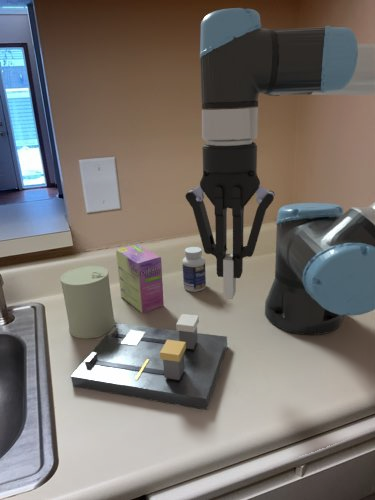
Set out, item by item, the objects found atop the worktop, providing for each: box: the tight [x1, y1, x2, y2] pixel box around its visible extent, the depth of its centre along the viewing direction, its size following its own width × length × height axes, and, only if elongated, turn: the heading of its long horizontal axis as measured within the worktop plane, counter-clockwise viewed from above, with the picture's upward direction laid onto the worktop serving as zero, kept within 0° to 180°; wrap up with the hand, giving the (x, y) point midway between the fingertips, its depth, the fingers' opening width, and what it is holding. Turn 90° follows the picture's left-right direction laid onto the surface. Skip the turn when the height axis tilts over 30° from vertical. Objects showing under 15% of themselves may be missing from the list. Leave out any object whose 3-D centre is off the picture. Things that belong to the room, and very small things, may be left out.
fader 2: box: [175, 313, 200, 349], centre depth 66 cm, size 3×3×5 cm
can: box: [59, 265, 116, 340], centre depth 76 cm, size 9×9×12 cm
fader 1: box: [160, 340, 186, 380], centre depth 59 cm, size 3×3×5 cm
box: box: [115, 244, 165, 314], centre depth 85 cm, size 10×6×12 cm, turn 35°
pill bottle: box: [181, 246, 207, 293], centre depth 91 cm, size 5×5×10 cm
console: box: [70, 322, 228, 411], centre depth 65 cm, size 22×16×3 cm
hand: (229, 294), depth 61 cm, fingers closed
